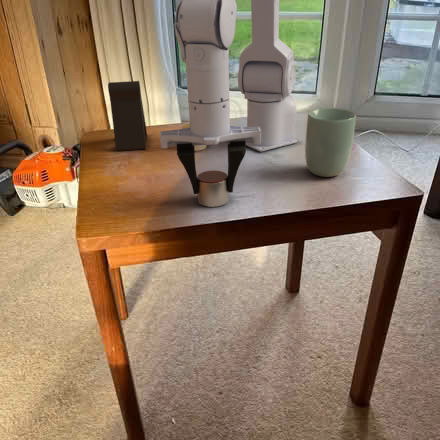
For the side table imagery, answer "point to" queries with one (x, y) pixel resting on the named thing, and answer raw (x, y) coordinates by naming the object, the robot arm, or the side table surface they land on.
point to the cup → (329, 140)
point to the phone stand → (127, 115)
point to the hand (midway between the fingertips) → (212, 190)
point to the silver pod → (212, 188)
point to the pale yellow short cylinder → (196, 147)
